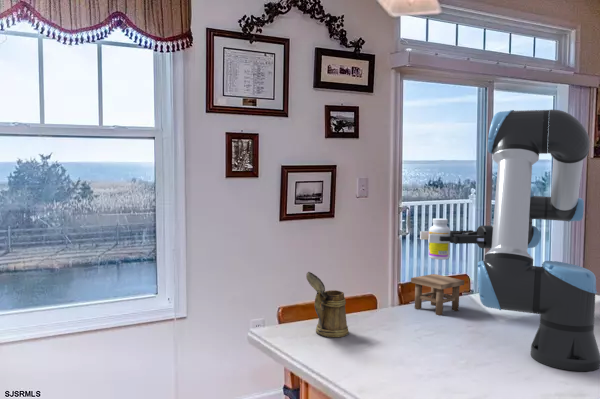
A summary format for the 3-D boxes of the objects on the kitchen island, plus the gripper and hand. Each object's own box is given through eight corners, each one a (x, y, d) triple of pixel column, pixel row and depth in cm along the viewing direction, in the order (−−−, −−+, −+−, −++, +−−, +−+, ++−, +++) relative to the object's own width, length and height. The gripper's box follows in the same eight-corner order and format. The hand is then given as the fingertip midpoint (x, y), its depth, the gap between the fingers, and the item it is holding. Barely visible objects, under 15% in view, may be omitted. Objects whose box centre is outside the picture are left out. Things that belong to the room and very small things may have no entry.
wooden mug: (296, 334, 143) (297, 268, 142) (333, 325, 151) (335, 264, 150) (317, 343, 136) (318, 274, 135) (355, 334, 144) (357, 269, 143)
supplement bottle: (433, 255, 176) (435, 217, 175) (452, 258, 171) (454, 219, 171) (424, 258, 170) (426, 218, 170) (444, 260, 166) (445, 220, 166)
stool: (440, 316, 163) (441, 284, 163) (410, 307, 173) (411, 277, 172) (463, 310, 171) (464, 280, 170) (433, 302, 180) (434, 273, 180)
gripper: (506, 253, 164) (436, 253, 160) (477, 243, 183) (413, 243, 180) (507, 229, 163) (437, 228, 160) (478, 222, 182) (414, 222, 179)
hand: (424, 236), depth 170 cm, fingers closed on supplement bottle, 7 cm apart
